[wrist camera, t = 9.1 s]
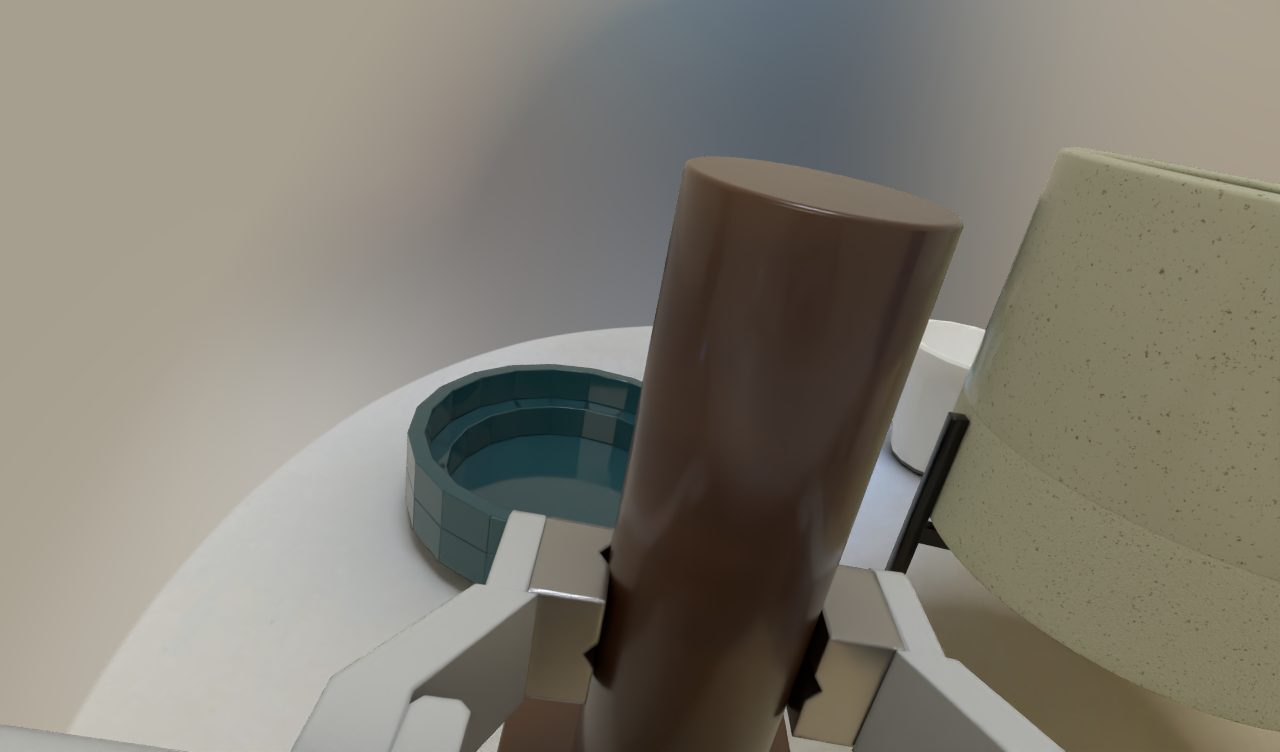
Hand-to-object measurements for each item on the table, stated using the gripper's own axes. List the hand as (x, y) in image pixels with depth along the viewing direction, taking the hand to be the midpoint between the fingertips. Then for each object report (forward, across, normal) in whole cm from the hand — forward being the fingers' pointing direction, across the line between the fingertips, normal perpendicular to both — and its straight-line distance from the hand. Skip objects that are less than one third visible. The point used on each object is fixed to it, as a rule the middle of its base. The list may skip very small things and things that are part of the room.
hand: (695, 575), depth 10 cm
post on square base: (-1, 0, +8) cm, 9 cm away
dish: (+24, +3, +17) cm, 29 cm away
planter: (+14, -19, +17) cm, 29 cm away
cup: (+37, -22, +17) cm, 46 cm away
